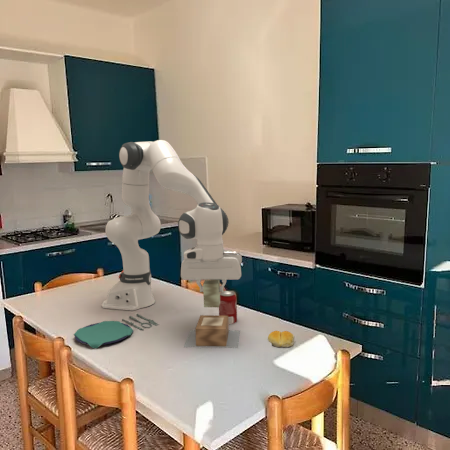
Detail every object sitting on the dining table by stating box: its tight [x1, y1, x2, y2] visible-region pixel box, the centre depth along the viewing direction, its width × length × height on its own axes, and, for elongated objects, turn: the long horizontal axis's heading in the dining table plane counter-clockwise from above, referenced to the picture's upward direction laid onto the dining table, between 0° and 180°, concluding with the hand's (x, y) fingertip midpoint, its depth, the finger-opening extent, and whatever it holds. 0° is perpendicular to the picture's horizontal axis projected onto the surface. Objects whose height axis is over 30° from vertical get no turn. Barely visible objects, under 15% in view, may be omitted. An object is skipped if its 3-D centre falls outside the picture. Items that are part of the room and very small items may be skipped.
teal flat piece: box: [73, 313, 160, 349], centre depth 160 cm, size 20×30×2 cm, turn 134°
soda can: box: [218, 290, 238, 325], centre depth 164 cm, size 7×7×12 cm
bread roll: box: [267, 330, 295, 348], centre depth 147 cm, size 8×9×4 cm
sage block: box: [202, 280, 221, 308], centre depth 147 cm, size 5×5×8 cm
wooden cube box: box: [194, 314, 230, 346], centre depth 149 cm, size 10×12×6 cm
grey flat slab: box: [183, 329, 241, 349], centre depth 150 cm, size 18×14×1 cm
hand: (211, 291), depth 147 cm, fingers closed on sage block, 5 cm apart
